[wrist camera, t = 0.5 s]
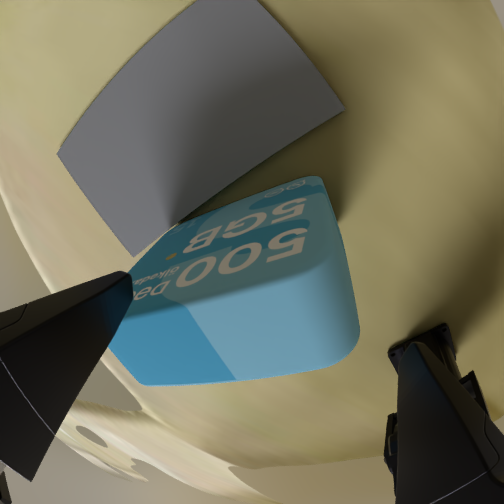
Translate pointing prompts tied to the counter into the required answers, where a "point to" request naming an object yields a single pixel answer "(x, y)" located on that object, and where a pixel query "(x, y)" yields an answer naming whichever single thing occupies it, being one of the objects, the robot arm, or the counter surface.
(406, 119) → the counter surface
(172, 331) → the light blue flat block
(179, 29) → the mat
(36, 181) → the counter surface
